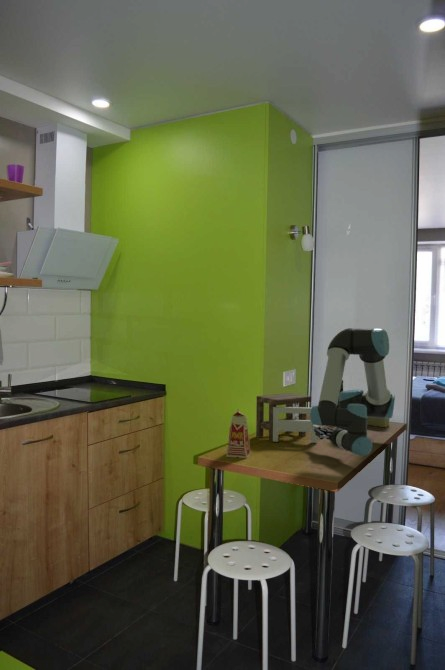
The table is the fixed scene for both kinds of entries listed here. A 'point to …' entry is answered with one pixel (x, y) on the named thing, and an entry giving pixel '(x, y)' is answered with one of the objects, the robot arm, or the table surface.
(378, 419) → the cheese
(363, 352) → the robot arm
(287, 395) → the stool
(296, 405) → the beer glass
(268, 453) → the table surface
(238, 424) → the milk carton
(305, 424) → the gate leg
